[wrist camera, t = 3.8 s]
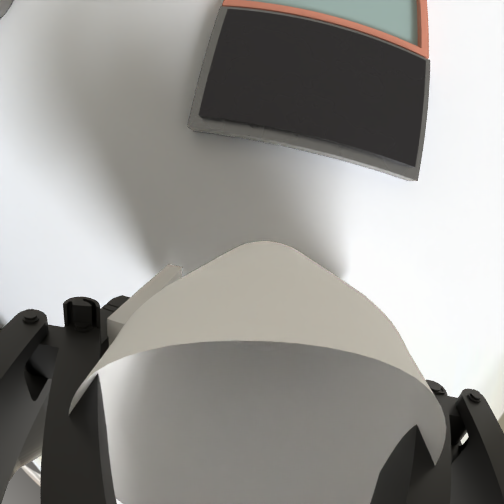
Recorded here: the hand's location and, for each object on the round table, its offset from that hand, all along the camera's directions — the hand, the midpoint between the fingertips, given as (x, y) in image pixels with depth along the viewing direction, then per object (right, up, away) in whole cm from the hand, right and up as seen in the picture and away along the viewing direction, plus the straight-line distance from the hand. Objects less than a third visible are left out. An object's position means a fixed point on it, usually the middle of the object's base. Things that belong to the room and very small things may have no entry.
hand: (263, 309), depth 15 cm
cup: (0, 0, +2) cm, 2 cm away
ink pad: (+3, +12, -1) cm, 12 cm away
